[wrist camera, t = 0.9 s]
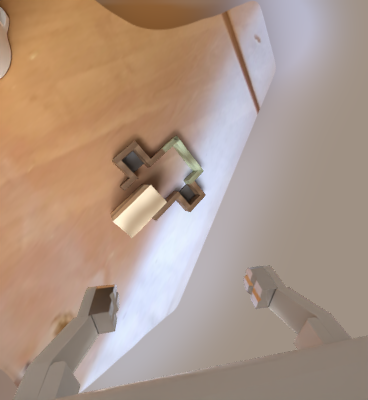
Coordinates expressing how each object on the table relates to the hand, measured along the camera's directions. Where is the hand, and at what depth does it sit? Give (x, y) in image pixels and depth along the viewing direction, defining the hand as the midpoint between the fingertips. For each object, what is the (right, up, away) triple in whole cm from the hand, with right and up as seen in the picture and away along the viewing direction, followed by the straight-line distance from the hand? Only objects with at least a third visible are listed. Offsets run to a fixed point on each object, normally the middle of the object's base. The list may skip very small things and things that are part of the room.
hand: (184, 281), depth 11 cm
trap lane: (-6, +11, +35) cm, 37 cm away
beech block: (-12, +4, +33) cm, 35 cm away
